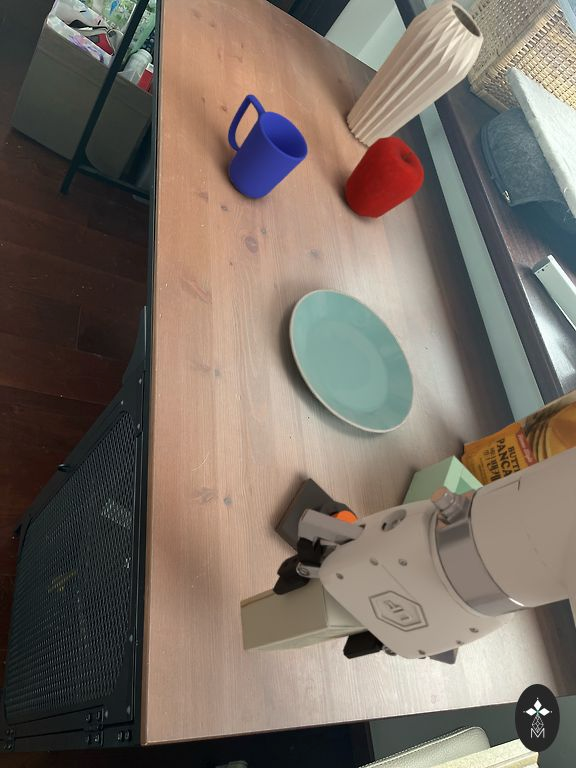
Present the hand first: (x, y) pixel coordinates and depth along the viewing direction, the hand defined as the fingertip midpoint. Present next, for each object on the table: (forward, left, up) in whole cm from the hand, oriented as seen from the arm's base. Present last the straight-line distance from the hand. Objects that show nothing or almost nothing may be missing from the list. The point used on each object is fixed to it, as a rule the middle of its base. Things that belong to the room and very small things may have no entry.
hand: (317, 609), depth 51 cm
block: (-3, -15, -12) cm, 20 cm away
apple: (+20, -73, -12) cm, 77 cm away
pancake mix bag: (-23, -41, -12) cm, 49 cm away
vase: (+29, -94, -12) cm, 99 cm away
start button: (-3, -15, -10) cm, 18 cm away
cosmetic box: (0, 0, -8) cm, 8 cm away
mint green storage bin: (-18, -27, -12) cm, 35 cm away
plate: (+6, -39, -12) cm, 42 cm away
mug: (+36, -53, -12) cm, 65 cm away
